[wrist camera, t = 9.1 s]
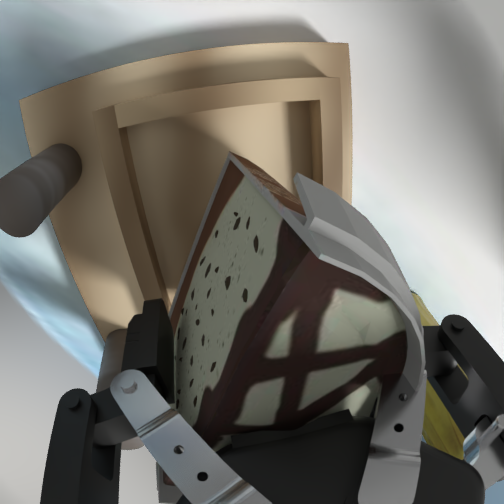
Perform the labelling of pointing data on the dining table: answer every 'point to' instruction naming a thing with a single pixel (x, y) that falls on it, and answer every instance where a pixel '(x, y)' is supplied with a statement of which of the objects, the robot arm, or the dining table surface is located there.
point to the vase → (438, 408)
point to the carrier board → (169, 162)
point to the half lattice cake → (285, 312)
